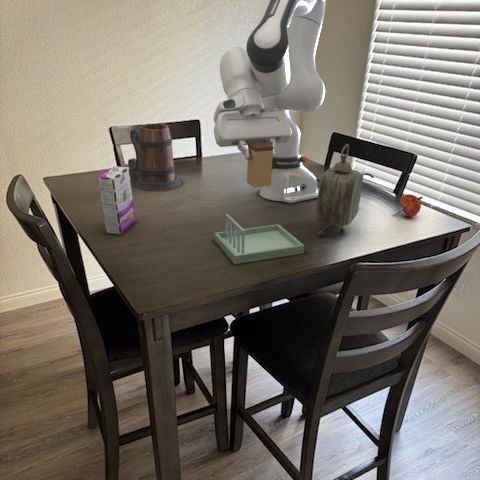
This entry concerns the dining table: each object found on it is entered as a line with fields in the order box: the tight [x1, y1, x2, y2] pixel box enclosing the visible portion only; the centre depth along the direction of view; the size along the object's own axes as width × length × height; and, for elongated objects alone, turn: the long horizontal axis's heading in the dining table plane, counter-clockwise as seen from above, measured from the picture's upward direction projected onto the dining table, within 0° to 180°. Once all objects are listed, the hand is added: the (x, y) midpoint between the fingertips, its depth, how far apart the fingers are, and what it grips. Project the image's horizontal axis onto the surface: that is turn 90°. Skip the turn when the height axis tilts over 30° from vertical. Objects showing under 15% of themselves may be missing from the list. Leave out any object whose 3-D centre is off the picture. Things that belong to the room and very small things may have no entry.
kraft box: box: [246, 142, 273, 189], centre depth 123 cm, size 5×5×10 cm
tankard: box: [127, 123, 182, 192], centre depth 174 cm, size 24×17×20 cm
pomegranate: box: [393, 193, 424, 218], centre depth 153 cm, size 7×7×10 cm
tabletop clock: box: [315, 143, 364, 237], centre depth 135 cm, size 14×9×25 cm, turn 155°
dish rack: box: [213, 213, 305, 265], centre depth 130 cm, size 20×16×8 cm
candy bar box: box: [97, 165, 136, 235], centre depth 137 cm, size 11×5×16 cm, turn 168°
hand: (260, 157), depth 122 cm, fingers closed on kraft box, 5 cm apart
